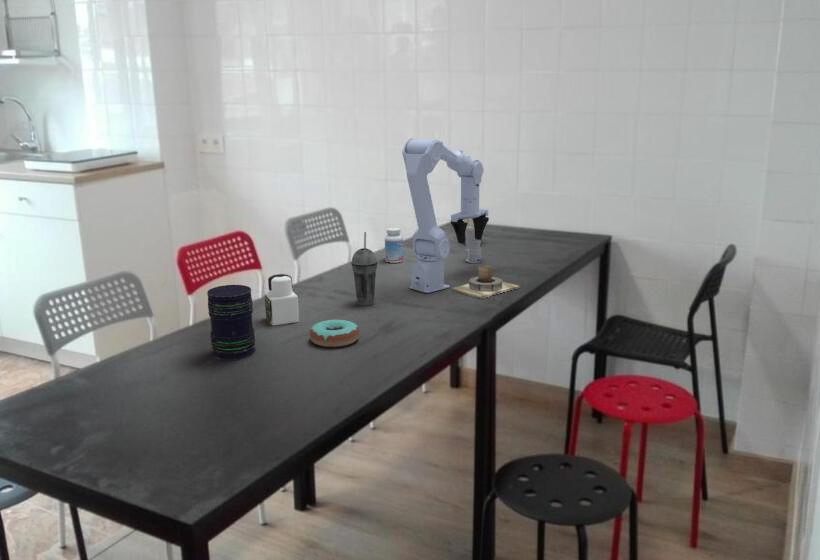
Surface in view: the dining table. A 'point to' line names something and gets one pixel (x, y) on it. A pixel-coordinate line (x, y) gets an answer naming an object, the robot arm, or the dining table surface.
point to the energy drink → (473, 246)
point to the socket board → (483, 294)
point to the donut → (334, 333)
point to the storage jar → (231, 322)
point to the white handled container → (281, 301)
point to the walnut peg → (485, 274)
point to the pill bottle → (393, 246)
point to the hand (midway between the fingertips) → (469, 241)
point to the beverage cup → (364, 274)
